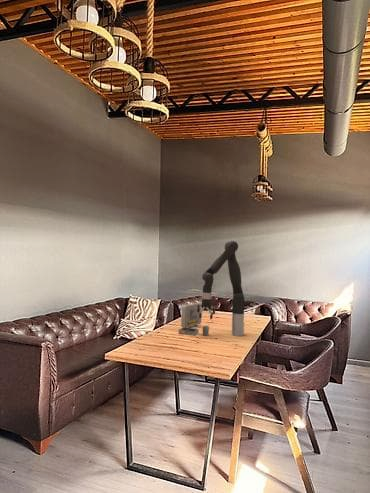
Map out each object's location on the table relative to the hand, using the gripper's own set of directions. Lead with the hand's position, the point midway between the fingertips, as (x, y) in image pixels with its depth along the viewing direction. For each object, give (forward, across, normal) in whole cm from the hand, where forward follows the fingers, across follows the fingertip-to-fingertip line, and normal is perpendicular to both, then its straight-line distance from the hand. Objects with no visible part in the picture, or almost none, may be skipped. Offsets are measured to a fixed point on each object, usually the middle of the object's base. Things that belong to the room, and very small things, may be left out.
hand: (205, 318), depth 308 cm
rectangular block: (+13, -1, 0) cm, 13 cm away
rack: (+13, +13, +1) cm, 19 cm away
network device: (+14, +20, -20) cm, 31 cm away
